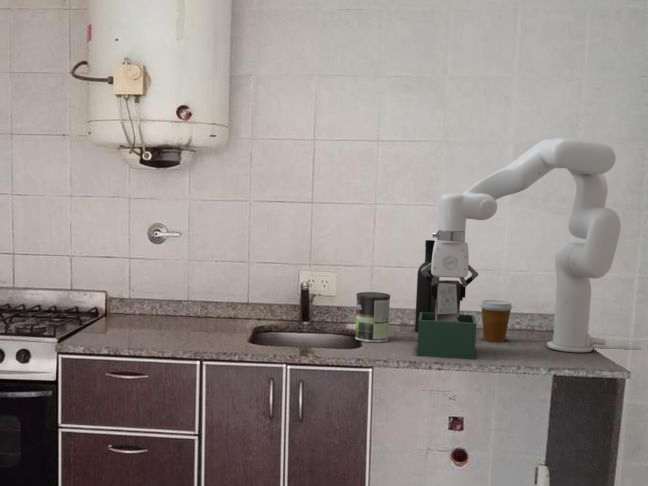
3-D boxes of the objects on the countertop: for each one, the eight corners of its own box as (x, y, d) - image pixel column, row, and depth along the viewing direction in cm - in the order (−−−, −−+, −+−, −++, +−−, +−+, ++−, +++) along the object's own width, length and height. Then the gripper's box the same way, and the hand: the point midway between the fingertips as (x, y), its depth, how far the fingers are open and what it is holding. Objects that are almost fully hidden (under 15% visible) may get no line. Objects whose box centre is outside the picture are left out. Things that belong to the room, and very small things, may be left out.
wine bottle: (413, 331, 268) (417, 240, 265) (423, 329, 272) (427, 239, 268) (428, 333, 264) (432, 241, 260) (438, 331, 268) (442, 240, 264)
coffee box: (458, 340, 230) (461, 283, 228) (435, 339, 231) (438, 282, 229) (456, 334, 239) (459, 280, 237) (433, 333, 240) (436, 279, 238)
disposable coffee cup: (476, 341, 253) (478, 302, 251) (480, 336, 262) (482, 299, 260) (508, 344, 249) (510, 305, 247) (512, 338, 257) (514, 301, 256)
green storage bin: (472, 348, 241) (474, 315, 240) (474, 359, 226) (476, 323, 225) (418, 344, 245) (419, 312, 244) (417, 355, 230) (418, 320, 229)
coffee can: (355, 341, 248) (357, 296, 246) (354, 335, 258) (355, 291, 257) (390, 343, 247) (392, 297, 245) (387, 336, 257) (388, 292, 256)
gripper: (419, 236, 230) (416, 299, 232) (483, 239, 226) (480, 303, 228) (420, 235, 237) (417, 296, 240) (482, 237, 233) (478, 299, 235)
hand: (448, 298), depth 234 cm, fingers closed on coffee box, 6 cm apart
